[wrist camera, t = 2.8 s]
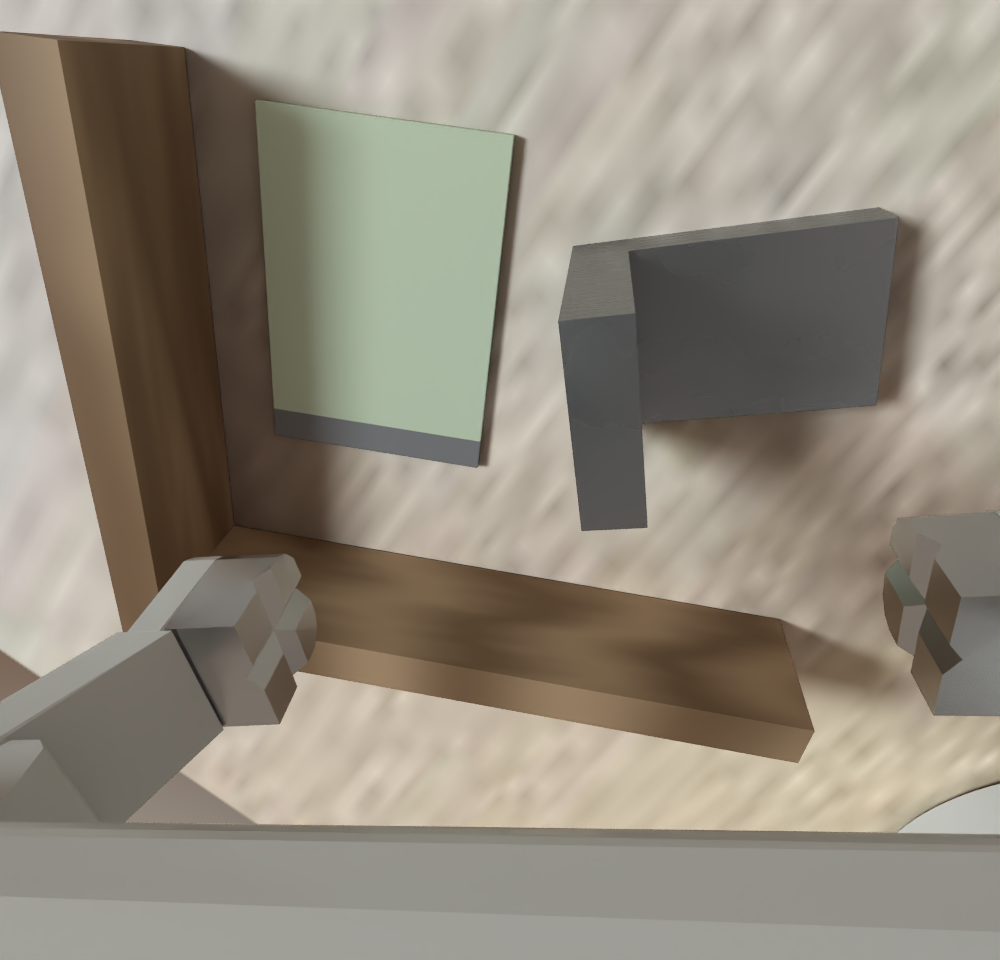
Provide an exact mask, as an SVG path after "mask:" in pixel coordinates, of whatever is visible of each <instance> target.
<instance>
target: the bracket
mask: <svg viewBox="0 0 1000 960" xmlns="http://www.w3.org/2000/svg"><path fill="white" fill-rule="evenodd" d="M898 221H899V217H897V216H895V215H893V214H891V213H889V212H887V211H885V210H883V209H881V208H879V207H878V208H870V209H863V210H855V211H847V212H839V213H831V214H823V215H815V216H807V217H799V218H791V219H783V220H776V221H768V222H760V223H752V224H744V225H736V226H728V227H720V228H712V229H704V230H696V231H689V232H681V233H673V234H665V235H657V236H649V237H641V238H633V239H625V240H617V241H610V242H602V243H594V244H586V245H578V246H573V249H572V254H571V259H570V264H569V269H568V274H567V280H566V285H565V290H564V295H563V300H562V305H561V310H560V315H559V320H558V324H559V333H560V342H561V351H562V359H563V368H564V377H565V386H566V395H567V404H568V413H569V422H570V431H571V440H572V449H573V458H574V467H575V476H576V485H577V494H578V503H579V512H580V521H581V530H582V531H591V530H612V529H632V528H647V510H646V493H645V475H644V457H643V439H642V423H655V422H668V421H681V420H694V419H707V418H720V417H733V416H746V415H759V414H772V413H785V412H797V411H810V410H823V409H836V408H849V407H862V406H875V405H876V403H877V395H878V387H879V378H880V370H881V362H882V354H883V345H884V337H885V329H886V321H887V312H888V304H889V296H890V287H891V279H892V271H893V263H894V254H895V246H896V238H897V230H898Z"/></svg>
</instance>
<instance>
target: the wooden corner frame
mask: <svg viewBox="0 0 1000 960" xmlns="http://www.w3.org/2000/svg"><path fill="white" fill-rule="evenodd" d="M0 88H1V93H2V97H3V102H4V106H5V110H6V115H7V119H8V124H9V128H10V133H11V137H12V141H13V146H14V150H15V155H16V159H17V164H18V168H19V172H20V177H21V181H22V186H23V190H24V195H25V199H26V204H27V208H28V212H29V217H30V221H31V226H32V230H33V235H34V239H35V243H36V248H37V252H38V257H39V261H40V266H41V270H42V275H43V279H44V283H45V288H46V292H47V297H48V301H49V306H50V310H51V314H52V319H53V323H54V328H55V332H56V337H57V341H58V346H59V350H60V354H61V359H62V363H63V368H64V372H65V377H66V381H67V385H68V390H69V394H70V399H71V403H72V408H73V412H74V417H75V421H76V425H77V430H78V434H79V439H80V443H81V448H82V452H83V456H84V461H85V465H86V470H87V474H88V479H89V483H90V488H91V492H92V496H93V501H94V505H95V510H96V514H97V519H98V523H99V527H100V532H101V536H102V541H103V545H104V550H105V554H106V559H107V563H108V567H109V572H110V576H111V581H112V585H113V590H114V594H115V598H116V603H117V607H118V612H119V616H120V621H121V625H122V630H123V632H128V630H129V629H130V628H131V627H132V625H133V624H134V623H135V622H136V620H137V619H138V618H139V617H140V615H141V614H142V613H143V612H144V610H145V609H146V608H147V607H148V605H149V604H150V603H151V602H152V600H153V599H154V598H155V597H156V595H157V594H158V593H159V592H160V590H161V589H162V588H163V587H164V585H165V584H166V583H167V582H168V581H169V579H170V578H171V577H172V576H173V574H174V573H175V572H176V571H177V569H178V568H179V567H180V566H181V564H182V563H183V562H184V561H186V560H188V559H191V558H194V557H209V556H228V555H256V554H283V553H285V554H287V555H289V556H291V557H293V558H294V560H295V562H296V564H297V567H298V569H299V571H300V574H301V578H300V580H299V583H298V585H297V587H296V588H297V589H298V590H299V591H300V592H302V593H303V594H304V595H305V596H307V597H308V598H309V599H310V600H311V603H312V605H313V608H314V611H315V615H316V622H317V634H316V642H315V648H314V650H313V653H312V655H311V657H310V660H309V662H308V663H307V664H306V665H305V666H303V667H302V668H301V669H300V670H298V671H299V672H305V673H310V674H316V675H321V676H327V677H332V678H337V679H343V680H348V681H354V682H359V683H365V684H370V685H376V686H381V687H386V688H392V689H397V690H403V691H408V692H414V693H419V694H425V695H430V696H435V697H441V698H446V699H452V700H457V701H463V702H468V703H474V704H479V705H484V706H490V707H495V708H501V709H506V710H512V711H517V712H523V713H528V714H533V715H539V716H544V717H550V718H555V719H561V720H566V721H572V722H577V723H582V724H588V725H593V726H599V727H604V728H610V729H615V730H621V731H626V732H632V733H637V734H642V735H648V736H653V737H659V738H664V739H670V740H675V741H681V742H686V743H691V744H697V745H702V746H708V747H713V748H719V749H724V750H730V751H735V752H740V753H746V754H751V755H757V756H762V757H768V758H773V759H779V760H784V761H789V762H795V763H798V762H799V760H800V758H801V756H802V754H803V752H804V751H805V749H806V747H807V745H808V743H809V741H810V739H811V737H812V735H813V733H814V728H813V725H812V721H811V718H810V715H809V712H808V709H807V706H806V702H805V699H804V696H803V693H802V690H801V686H800V683H799V680H798V677H797V674H796V671H795V667H794V664H793V661H792V658H791V655H790V651H789V648H788V645H787V642H786V639H785V635H784V632H783V629H782V626H781V623H780V620H779V619H773V618H767V617H762V616H756V615H750V614H744V613H738V612H733V611H727V610H721V609H715V608H709V607H704V606H698V605H692V604H686V603H680V602H675V601H669V600H663V599H657V598H651V597H646V596H640V595H634V594H628V593H622V592H617V591H611V590H605V589H599V588H593V587H588V586H582V585H576V584H570V583H564V582H559V581H553V580H547V579H541V578H535V577H529V576H524V575H518V574H512V573H506V572H500V571H495V570H489V569H483V568H477V567H471V566H466V565H460V564H454V563H448V562H442V561H437V560H431V559H425V558H419V557H413V556H408V555H402V554H396V553H390V552H384V551H379V550H373V549H367V548H361V547H355V546H350V545H344V544H338V543H332V542H326V541H321V540H315V539H309V538H303V537H297V536H291V535H286V534H280V533H274V532H268V531H262V530H257V529H251V528H245V527H239V526H234V520H233V510H232V501H231V491H230V482H229V472H228V462H227V453H226V443H225V434H224V424H223V414H222V405H221V395H220V386H219V376H218V366H217V357H216V347H215V337H214V328H213V318H212V309H211V299H210V289H209V280H208V270H207V261H206V251H205V241H204V232H203V222H202V212H201V203H200V193H199V184H198V174H197V164H196V155H195V145H194V136H193V126H192V116H191V107H190V97H189V87H188V78H187V68H186V59H185V49H184V47H178V46H170V45H163V44H155V43H148V42H140V41H133V40H120V39H105V38H90V37H75V36H60V35H45V34H31V33H16V32H1V31H0Z"/></svg>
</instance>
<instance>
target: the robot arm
mask: <svg viewBox="0 0 1000 960" xmlns="http://www.w3.org/2000/svg"><path fill="white" fill-rule="evenodd" d="M890 546H891V548H892V549H893V551H894V553H895V554H896V556H897V558H898V561H897V562H896V563H895V564H894V565H893V566H892V567H891V568H890V569H889V570H888V571H887V572H886V573H885V580H884V588H883V601H884V611H885V617H886V620H887V623H888V626H889V630H890V632H891V634H892V636H893V638H894V640H895V642H896V644H897V645H898V646H899V647H901V648H902V649H904V650H905V651H907V652H908V653H910V654H912V655H913V656H914V659H913V664H912V669H911V673H912V675H913V677H914V679H915V681H916V683H917V685H918V687H919V689H920V691H921V693H922V695H923V696H924V698H925V700H926V702H927V704H928V706H929V708H930V710H931V712H932V714H933V715H943V716H1000V510H991V511H987V512H981V513H966V514H951V515H936V516H921V517H906V518H898V519H897V521H896V523H895V525H894V527H893V530H892V536H891V541H890ZM300 578H301V574H300V571H299V569H298V567H297V564H296V562H295V560H294V558H293V557H291V556H289V555H287V554H285V553H283V554H256V555H228V556H209V557H194V558H191V559H188V560H186V561H184V562H183V563H182V564H181V566H180V567H179V568H178V569H177V571H176V572H175V573H174V574H173V576H172V577H171V578H170V579H169V581H168V582H167V583H166V584H165V585H164V587H163V588H162V589H161V590H160V592H159V593H158V594H157V595H156V597H155V598H154V599H153V600H152V602H151V603H150V604H149V605H148V607H147V608H146V609H145V610H144V612H143V613H142V614H141V615H140V617H139V618H138V619H137V620H136V622H135V623H134V624H133V625H132V627H131V628H130V629H129V630H128V632H119V633H116V634H114V635H112V636H111V637H109V638H107V639H106V640H104V641H102V642H100V643H99V644H97V645H95V646H94V647H92V648H90V649H89V650H87V651H85V652H84V653H82V654H80V655H78V656H77V657H75V658H73V659H72V660H70V661H68V662H67V663H65V664H63V665H62V666H60V667H58V668H56V669H55V670H53V671H51V672H50V673H48V674H46V675H45V676H43V677H41V678H40V679H38V680H37V681H35V682H33V683H31V684H29V685H28V686H26V687H24V688H23V689H21V690H19V691H18V692H16V693H14V694H13V695H11V696H9V697H8V698H6V699H4V700H2V701H1V702H0V960H1000V784H997V785H993V786H989V787H986V788H983V789H980V790H976V791H973V792H971V793H968V794H965V795H962V796H960V797H957V798H955V799H952V800H950V801H948V802H945V803H943V804H941V805H939V806H937V807H935V808H933V809H931V810H930V811H928V812H926V813H924V814H923V815H921V816H919V817H918V818H916V819H915V820H913V821H912V822H910V823H909V824H908V825H906V826H905V827H904V828H902V829H901V830H900V831H899V832H898V833H877V832H802V831H728V830H653V829H578V828H503V827H427V826H350V825H273V824H193V823H187V824H186V823H125V822H126V821H127V820H128V819H129V818H130V817H131V816H132V815H133V814H134V813H135V812H136V811H137V810H138V809H139V808H141V807H142V806H143V805H144V804H145V803H146V802H147V801H148V800H149V799H150V798H151V797H152V796H153V795H154V794H155V793H157V792H158V791H159V790H160V789H161V788H162V787H163V786H164V785H165V784H166V783H167V782H168V781H169V780H170V779H171V778H173V777H174V776H175V775H176V774H177V773H178V772H179V771H180V770H181V769H182V768H183V767H184V766H185V765H186V764H187V763H189V762H190V761H191V760H192V759H193V758H194V757H195V756H196V755H197V754H198V753H199V752H200V751H201V750H202V749H203V748H205V747H206V746H207V745H208V744H209V743H210V742H211V741H212V740H213V739H214V738H215V737H216V736H217V735H218V734H219V733H221V732H222V731H223V727H226V726H249V725H272V724H280V723H281V720H282V718H283V716H284V714H285V712H286V710H287V707H288V705H289V703H290V701H291V699H292V697H293V695H294V692H295V690H296V688H297V685H296V682H295V680H294V677H293V674H295V673H296V672H297V671H298V670H300V669H301V668H302V667H303V666H305V665H306V664H307V663H308V662H309V660H310V657H311V655H312V653H313V650H314V648H315V642H316V634H317V622H316V615H315V611H314V608H313V605H312V603H311V600H310V599H309V598H308V597H307V596H305V595H304V594H303V593H302V592H300V591H299V590H298V589H297V588H296V587H297V585H298V583H299V580H300Z"/></svg>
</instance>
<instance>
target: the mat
mask: <svg viewBox="0 0 1000 960" xmlns="http://www.w3.org/2000/svg"><path fill="white" fill-rule="evenodd" d="M255 110H256V126H257V142H258V158H259V174H260V191H261V207H262V223H263V239H264V256H265V272H266V288H267V304H268V320H269V337H270V353H271V369H272V385H273V401H274V418H275V434H276V435H280V436H286V437H292V438H298V439H304V440H310V441H316V442H322V443H329V444H335V445H341V446H347V447H353V448H359V449H365V450H371V451H377V452H383V453H390V454H396V455H402V456H408V457H414V458H420V459H426V460H432V461H438V462H444V463H451V464H457V465H463V466H469V467H475V468H477V467H478V464H479V456H480V447H481V438H482V429H483V420H484V411H485V402H486V393H487V383H488V374H489V365H490V356H491V347H492V338H493V329H494V320H495V311H496V302H497V292H498V283H499V274H500V265H501V256H502V247H503V238H504V229H505V220H506V210H507V201H508V192H509V183H510V174H511V165H512V156H513V147H514V138H515V135H514V134H507V133H499V132H492V131H485V130H477V129H470V128H463V127H455V126H448V125H441V124H433V123H426V122H419V121H411V120H404V119H396V118H389V117H382V116H374V115H367V114H360V113H352V112H345V111H338V110H330V109H323V108H316V107H308V106H301V105H293V104H286V103H279V102H271V101H264V100H255Z"/></svg>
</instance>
